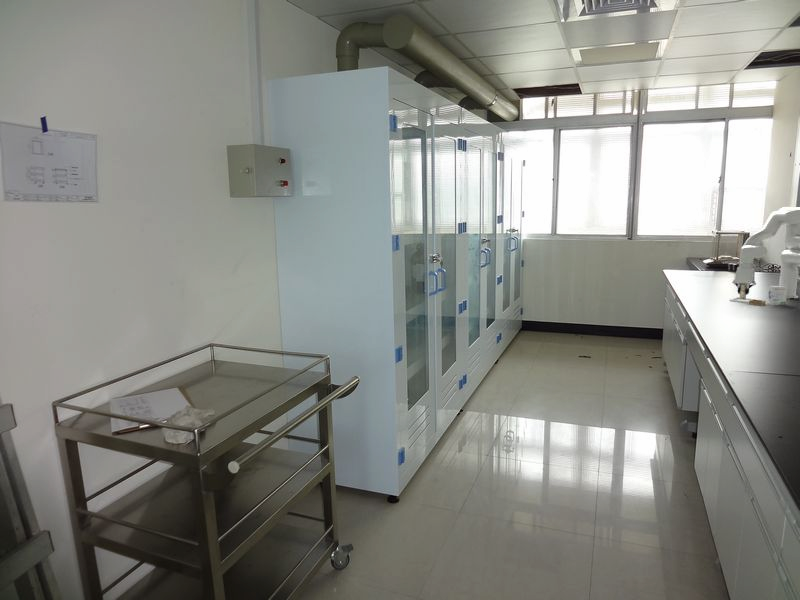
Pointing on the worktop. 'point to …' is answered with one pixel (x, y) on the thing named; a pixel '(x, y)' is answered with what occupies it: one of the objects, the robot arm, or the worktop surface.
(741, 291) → the dowel
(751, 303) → the shallow wooden box
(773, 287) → the ink box
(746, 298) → the tray
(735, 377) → the worktop surface
